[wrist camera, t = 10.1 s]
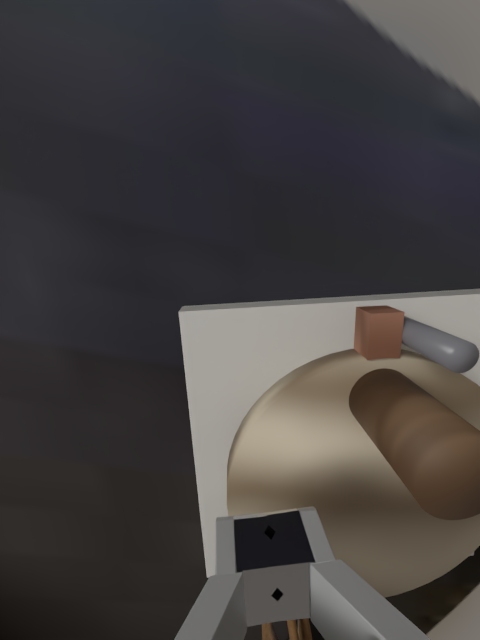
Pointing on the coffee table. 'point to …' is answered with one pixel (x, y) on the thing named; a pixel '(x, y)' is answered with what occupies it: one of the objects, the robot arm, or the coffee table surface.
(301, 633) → the lion figurine
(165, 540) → the coffee table surface
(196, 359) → the post base
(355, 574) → the robot arm
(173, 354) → the coffee table surface
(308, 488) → the beige round knobbed piece
